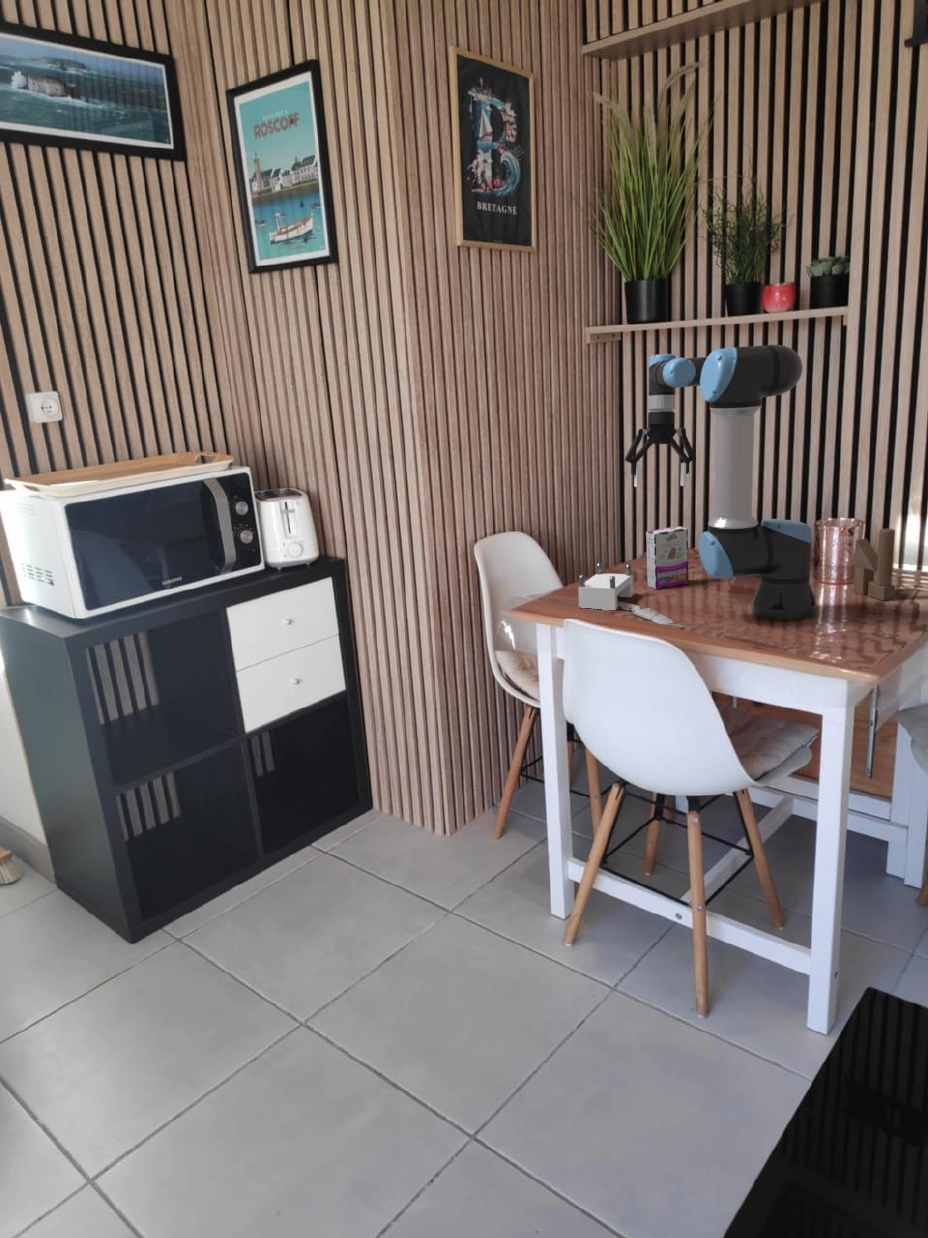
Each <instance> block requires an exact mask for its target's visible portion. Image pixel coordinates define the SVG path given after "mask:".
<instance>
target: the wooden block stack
mask: <svg viewBox="0 0 928 1238" xmlns="http://www.w3.org/2000/svg"><path fill="white" fill-rule="evenodd" d="M878 531H879V532H878V550H877V551H878V553H876V552H875V549H874V548H873V546H872V545H871V543H870V542H869V540H868V538H861V539H856V540H855V548H854V549H855V551H854V552H855V553H854V572H853V573H854V574H853V589H852V591H853V593H854V594H858V595H862V596H863V595H867V596H868V597H869V598H873V599H877V600H881V601H889V600H893V599H895V593H896V592H895V591H896V586H895V585H894V584H892V583H893V570H894V569H893V568H894V555H895V554H894V553H895V551H894V550H895V538H896V537H895V536H896V530H895V528H881V529H879V530H878ZM875 572H876V580H875V579H874V578H875Z"/></svg>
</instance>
